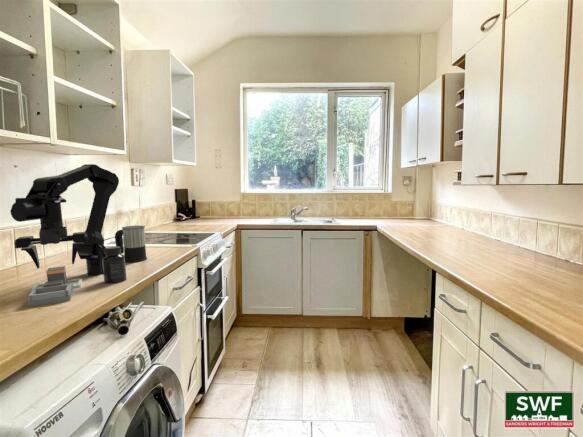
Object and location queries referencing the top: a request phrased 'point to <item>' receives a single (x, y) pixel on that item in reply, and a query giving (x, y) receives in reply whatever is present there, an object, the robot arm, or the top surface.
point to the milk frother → (132, 243)
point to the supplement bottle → (114, 265)
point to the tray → (76, 283)
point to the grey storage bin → (51, 293)
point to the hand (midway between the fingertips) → (56, 266)
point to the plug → (57, 274)
